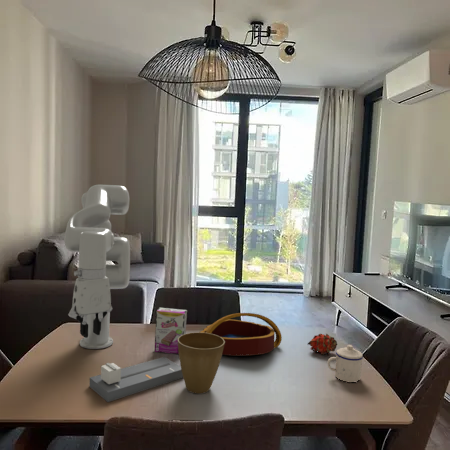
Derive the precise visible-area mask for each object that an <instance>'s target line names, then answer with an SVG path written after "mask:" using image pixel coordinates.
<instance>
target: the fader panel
mask: <svg viewBox="0 0 450 450" xmlns="http://www.w3.org/2000/svg"><path fill="white" fill-rule="evenodd" d="M179 379H184V378H183V374H182V370H181V365H179V364H178V363H176V362H174V361H172V360H170V359H169V358H168V357H165V356H162V357H159V358H156V359H151V360H148V361H144V362H140V363H137V364H133V365H131V366H126V367H123V368H122V367H121V381H118V382H115V383H112V384H107V383H106V382H105V381H104V380H102V379H101V374H97V375H94V376H90V377H89V385H88V386H89V388H90V389H91V390H93V391H94V392H95V393H96V394H98V395H99V396H100V397H101V398H102V399H103V400H104V401H106V403H111V402H113V401H115V400H119V399H122V398H125V397H127V396H128V397H129V396H131V395H134V394H137V393H138V394H139V393H140V392H143V391H146V390H148V389H153V388H155V387H159V386H161V385H165V384H168V383H171V382H174V381H176V380H179Z"/></svg>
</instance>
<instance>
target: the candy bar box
mask: <svg viewBox="0 0 450 450" xmlns="http://www.w3.org/2000/svg"><path fill="white" fill-rule="evenodd" d="M187 313H188V310H187V309H179V308H169V307H158V309H157V310H156V312H155V314H156V316H155V334H154V335H155V336H154V353H163V354H173V355H179V351H178V338H179V337H180V336H181V335H184V334H187V332H186V331H187V318H188V314H187Z"/></svg>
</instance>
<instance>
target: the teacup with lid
mask: <svg viewBox="0 0 450 450" xmlns="http://www.w3.org/2000/svg"><path fill="white" fill-rule="evenodd" d="M335 354H336V356H331V357H330V358H328V359H327V367H328V368H329V371H332V372H334V377H335V376H336V377H337V378H338V379H337V378H336V377H335V378H336V379H337V380H339V379H340V380H343V381H349V382H354V381H358V380H360V381H361V373H362V364H363V363H362V362H363V358H364V355H363V353H362V352H361V351H359V350H357V349H355V348H354V346H353V345H351V344H348V345H346V346H345V347H339V348H338V349H337V350H335ZM333 360H334V361H335V368H334V367H332V366H331V361H333ZM340 380H339V381H340ZM343 381H342V382H343Z"/></svg>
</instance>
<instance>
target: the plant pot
mask: <svg viewBox="0 0 450 450" xmlns="http://www.w3.org/2000/svg"><path fill="white" fill-rule="evenodd" d="M224 343H225V341H224V339H223V338H221V337H220V336H217V335H214V334H210V333H203V332H200V331H198V332H196V331H195V332H189V333H188V332H186V334H184V335H181V336H180V337H179V338H178V351H179V354H178V359H179V363H180V365H179V366H181V370H182V374H183V378H182V379H183V381H184V385H185V388H186V390H187V391H188V392H190V393H193V394H201V395H202V394H206V393H207V392H208V391H210V390H211V387H212V384H213V383H214V380H215V378H216V376H217V373H218V370H219V367H220V363H221V360H222V357H223V355H222V352H223V348H224Z"/></svg>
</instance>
